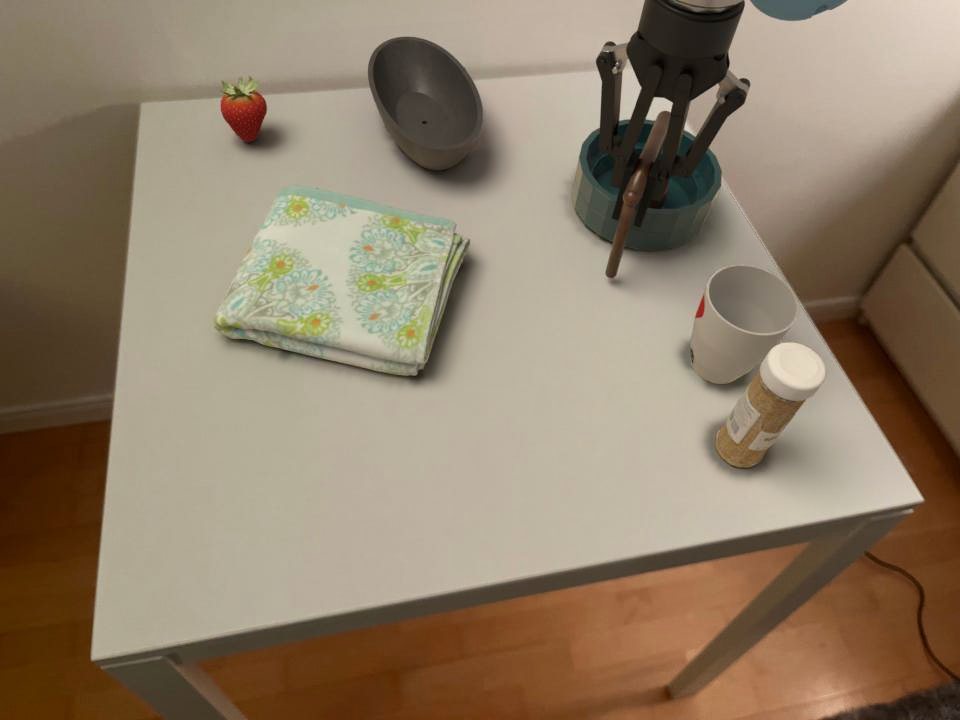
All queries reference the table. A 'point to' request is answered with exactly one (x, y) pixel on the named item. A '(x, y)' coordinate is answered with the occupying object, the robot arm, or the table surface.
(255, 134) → the fruit
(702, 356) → the cup
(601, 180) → the mixing bowl
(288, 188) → the towel
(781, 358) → the sprinkles bottle
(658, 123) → the bent wooden rod
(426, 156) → the bowl
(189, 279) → the table surface
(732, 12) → the robot arm
